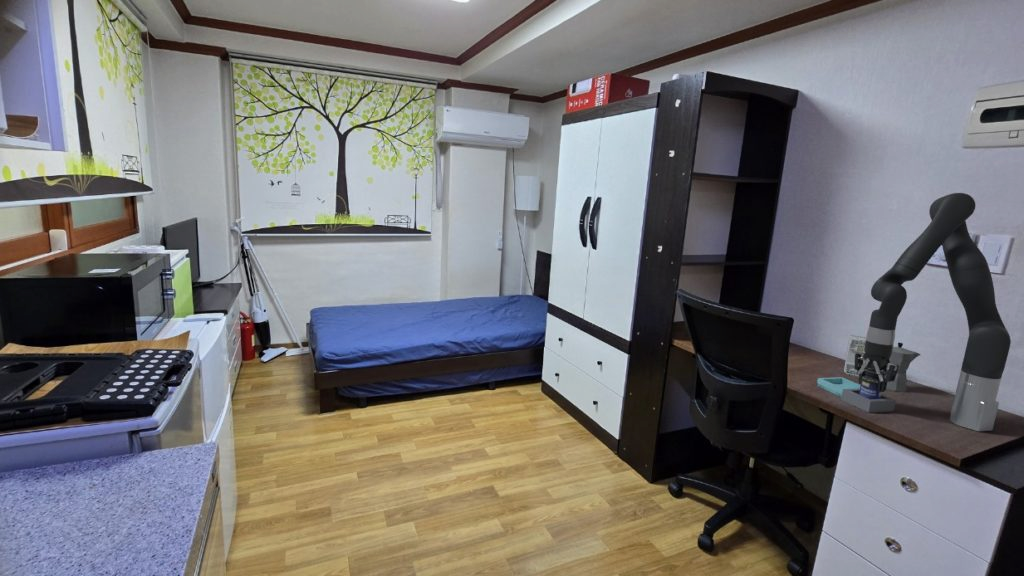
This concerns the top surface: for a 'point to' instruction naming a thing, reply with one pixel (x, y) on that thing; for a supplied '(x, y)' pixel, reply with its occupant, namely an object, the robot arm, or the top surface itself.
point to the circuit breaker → (854, 346)
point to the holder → (868, 401)
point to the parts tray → (836, 385)
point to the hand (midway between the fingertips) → (871, 387)
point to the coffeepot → (900, 367)
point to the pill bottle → (870, 385)
